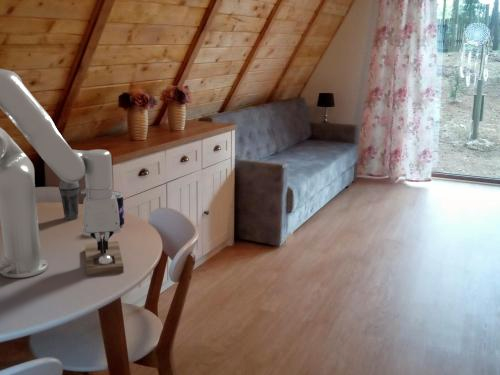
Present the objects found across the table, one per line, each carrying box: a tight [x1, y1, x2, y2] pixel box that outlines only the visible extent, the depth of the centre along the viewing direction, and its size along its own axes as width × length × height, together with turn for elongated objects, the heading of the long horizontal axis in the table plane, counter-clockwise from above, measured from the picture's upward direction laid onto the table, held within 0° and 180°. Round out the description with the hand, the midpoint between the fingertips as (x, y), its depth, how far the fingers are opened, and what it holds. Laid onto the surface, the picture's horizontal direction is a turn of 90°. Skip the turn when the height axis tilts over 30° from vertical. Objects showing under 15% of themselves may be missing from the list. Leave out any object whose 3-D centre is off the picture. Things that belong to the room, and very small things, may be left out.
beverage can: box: [113, 190, 125, 228], centre depth 193 cm, size 6×6×12 cm
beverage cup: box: [58, 179, 80, 221], centre depth 199 cm, size 7×7×20 cm
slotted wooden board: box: [84, 241, 125, 277], centre depth 164 cm, size 20×10×2 cm, turn 17°
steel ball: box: [97, 255, 114, 265], centre depth 158 cm, size 4×4×4 cm
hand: (103, 252), depth 164 cm, fingers closed
